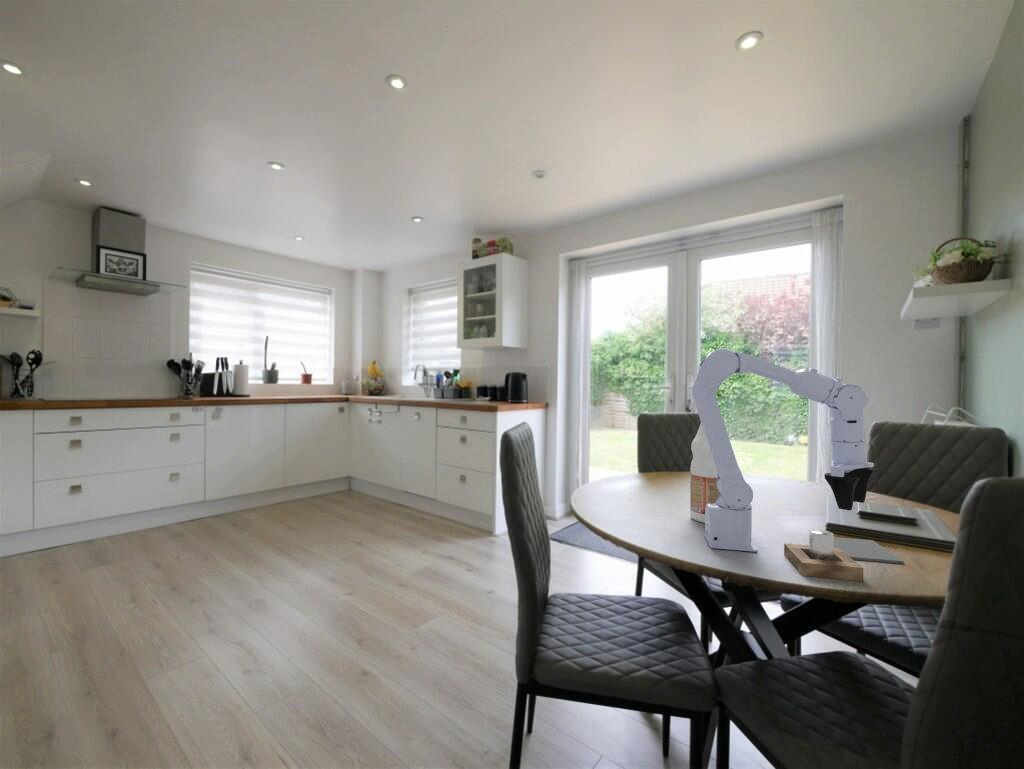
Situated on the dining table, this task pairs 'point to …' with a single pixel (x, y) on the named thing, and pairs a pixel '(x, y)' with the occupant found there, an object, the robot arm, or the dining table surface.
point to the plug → (821, 545)
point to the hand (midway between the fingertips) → (851, 505)
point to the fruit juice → (702, 477)
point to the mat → (865, 550)
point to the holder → (823, 564)
